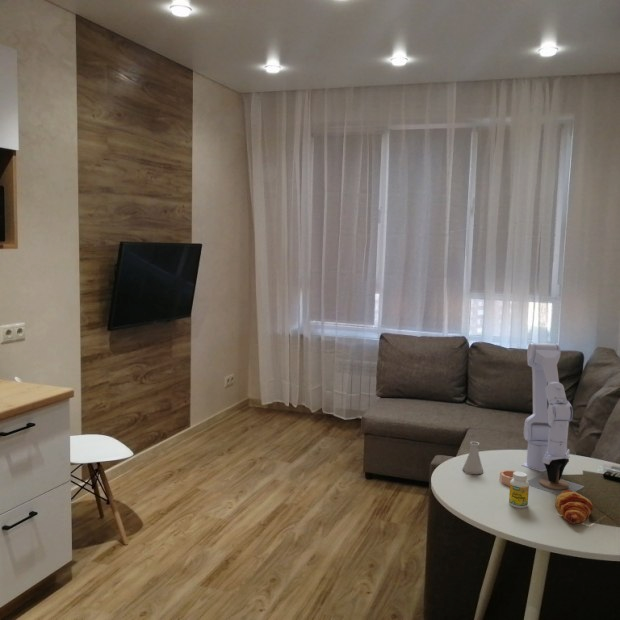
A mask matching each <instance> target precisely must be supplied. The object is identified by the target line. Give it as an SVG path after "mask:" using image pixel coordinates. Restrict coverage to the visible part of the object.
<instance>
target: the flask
mask: <svg viewBox="0 0 620 620" xmlns="http://www.w3.org/2000/svg"><path fill="white" fill-rule="evenodd" d="M469 446H470V447H469V448H470V449H469V452H468V456H467V458H466V461H465V462H464V464H463V467H462V471H463V470H464V471H465V472H464V471H463V472H464V473H466V474H470V475H483V474H484V468H483V467H484V466H483V465H482V462H481V457H480V453H479V446H480V442H478V441H469Z"/></svg>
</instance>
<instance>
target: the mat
mask: <svg viewBox="0 0 620 620" xmlns="http://www.w3.org/2000/svg"><path fill="white" fill-rule="evenodd" d="M543 477H548V474H547V473H542V474H540V475H538V476H535V477H533V478H531V479H530V480H527V481H528V483H529V487H533V488H536V489H538V490H541V491H545V492H547V493H551V494H554V495H557V496H558V495H559V494H561V493H562V492H563V491H565V490H552V489H548V488H546V487H543V486H542V485H540V483H539V480H540V479H541V478H543ZM561 480H564V481H566V482H567V483H568V484H569V488H568V489H567V490H571V491H574V492H577V491H579V490H581V489H583V488H585V485H581V484H579V483H575V482H573V481H569V480H566V479H563V478H561Z"/></svg>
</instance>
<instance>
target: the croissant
mask: <svg viewBox="0 0 620 620" xmlns="http://www.w3.org/2000/svg"><path fill="white" fill-rule="evenodd" d="M554 506H555V508H556V510H557V513H559V515H560V516H561V517H563V518H564V519H565V520H566V521H567V522H569V523H570V524H581V523H584V522H585V520H588V518H589V517H590V515H591V514H592V512H593V510H594V505H593V503H592V502H591V500H590V499H588V498H587V497H586V496H583V495H582V494H580V493H578V492H577V491H576V492H574V491H571V490H565V491H563V492H562V493H561V494H559V495H557V497H556V499H555V502H554Z"/></svg>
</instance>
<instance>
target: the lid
mask: <svg viewBox="0 0 620 620" xmlns="http://www.w3.org/2000/svg"><path fill="white" fill-rule="evenodd" d="M559 471H560V470H559ZM559 471H558V475H557V480H556V482H555V483H554V482H551V481H549V480H548V477H543V478H541V479H540V480H539V483H540V485H542V486H543V487H546V488H548V489H552V490H567V489H568V488H569V484H568V483H567V482H566V481H567V480H566V481H564V480H565V479H563V480H561V479H562V478H561V479H560V480H559Z"/></svg>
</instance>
